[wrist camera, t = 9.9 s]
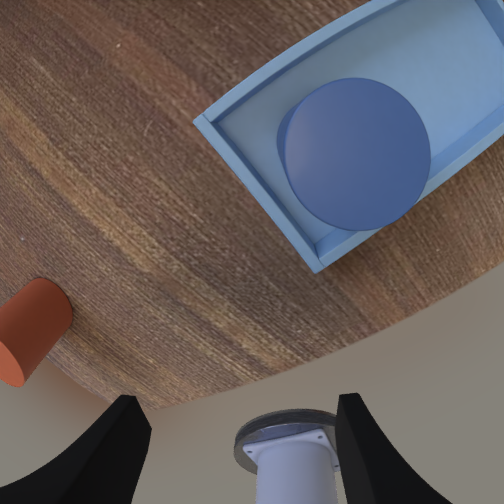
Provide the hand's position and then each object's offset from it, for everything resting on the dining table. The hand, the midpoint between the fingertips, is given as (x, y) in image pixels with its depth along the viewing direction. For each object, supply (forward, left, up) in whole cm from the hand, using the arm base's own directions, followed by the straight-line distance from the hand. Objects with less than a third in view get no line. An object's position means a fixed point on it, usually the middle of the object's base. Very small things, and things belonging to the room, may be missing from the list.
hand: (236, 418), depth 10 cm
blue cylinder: (+6, -7, -9) cm, 13 cm away
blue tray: (+8, -12, -9) cm, 17 cm away
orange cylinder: (+4, +15, -9) cm, 18 cm away
